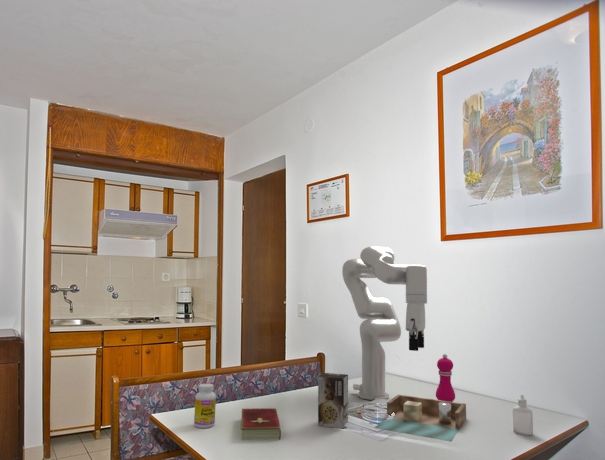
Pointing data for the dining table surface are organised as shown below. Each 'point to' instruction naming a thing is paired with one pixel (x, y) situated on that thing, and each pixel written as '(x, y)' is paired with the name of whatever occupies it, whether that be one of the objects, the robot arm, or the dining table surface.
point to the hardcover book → (260, 424)
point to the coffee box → (332, 400)
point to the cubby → (424, 418)
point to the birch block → (412, 411)
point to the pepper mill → (445, 380)
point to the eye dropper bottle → (522, 418)
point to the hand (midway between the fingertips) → (416, 348)
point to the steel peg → (444, 413)
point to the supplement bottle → (205, 406)
